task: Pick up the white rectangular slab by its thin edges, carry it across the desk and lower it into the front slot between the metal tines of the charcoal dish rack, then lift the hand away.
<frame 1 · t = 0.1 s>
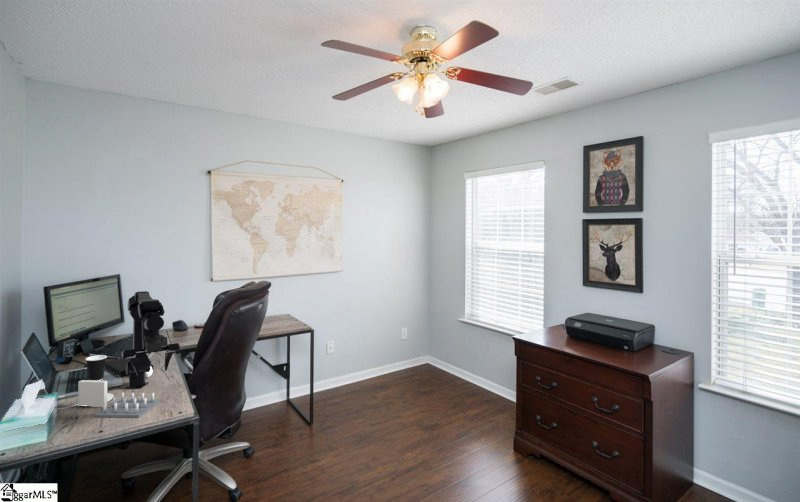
hand: (152, 373, 153), 15 cm above the table, tool pointing down, fingers open, 9 cm apart
dish rack: (129, 409, 155), on the table
external hard drive: (128, 369, 201), on the table
bust: (144, 376, 192), on the table
white rectangular slab: (92, 406, 157), on the table
dixie cup: (96, 381, 183), on the table
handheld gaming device: (143, 356, 223), on the table
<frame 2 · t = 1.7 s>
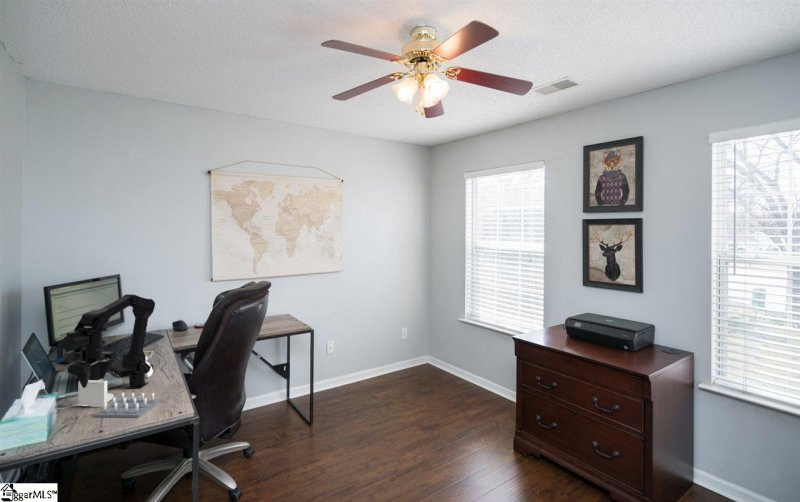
hand: (93, 383, 157), 9 cm above the table, tool pointing down, fingers open, 9 cm apart
nothing on the table moved.
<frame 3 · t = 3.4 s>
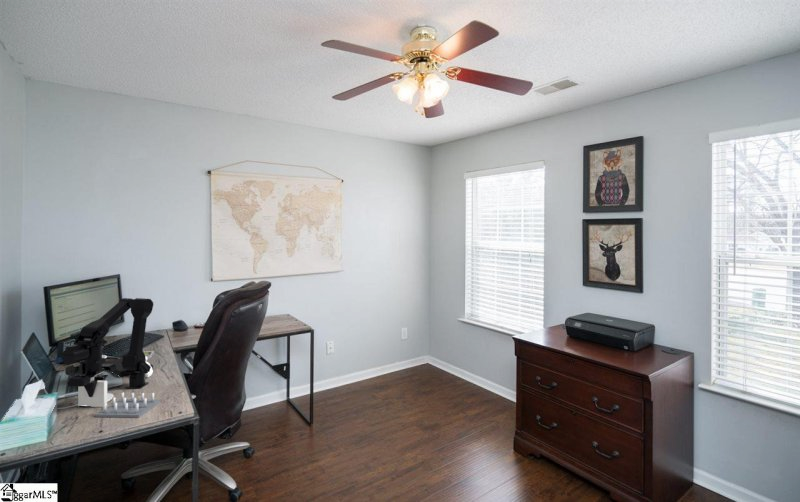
hand: (92, 395, 157), 4 cm above the table, tool pointing down, fingers closed on white rectangular slab, 2 cm apart
white rectangular slab: (92, 405, 157), on the table, touching gripper
everything else where it was.
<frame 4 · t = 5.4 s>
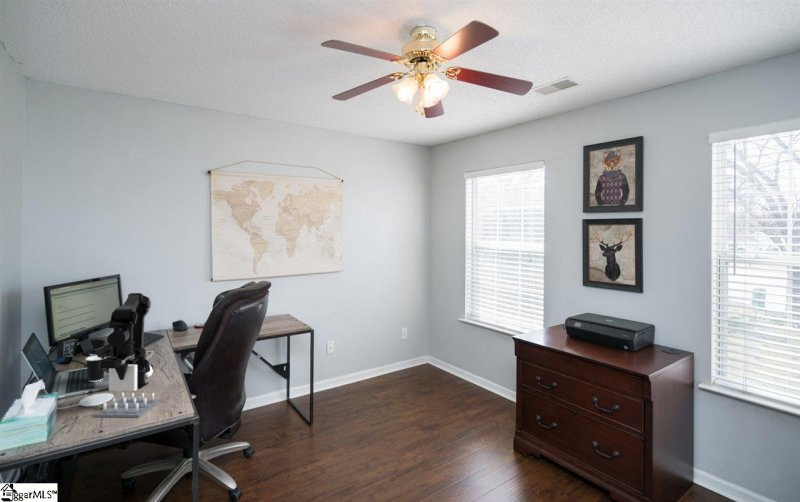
hand: (123, 379, 157), 11 cm above the table, tool pointing down, fingers closed on white rectangular slab
white rectangular slab: (123, 389, 157), point 7 cm above the table, touching gripper
everything else where it was.
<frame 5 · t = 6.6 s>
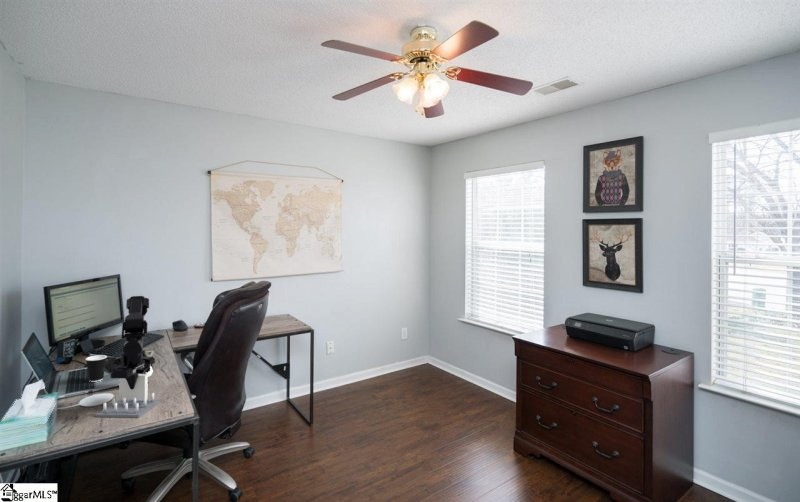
hand: (133, 388, 158), 7 cm above the table, tool pointing down, fingers closed on white rectangular slab, 2 cm apart
white rectangular slab: (133, 399, 158), point 3 cm above the table, touching gripper
everything else where it was.
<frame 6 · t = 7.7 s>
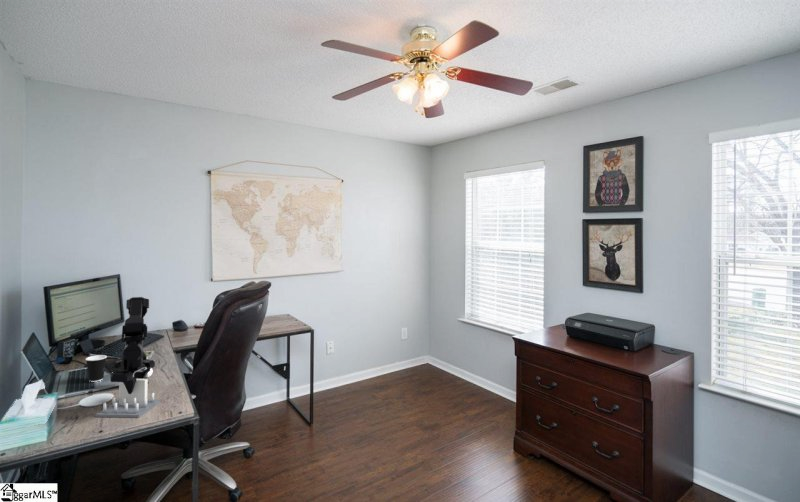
hand: (133, 391, 158), 6 cm above the table, tool pointing down, fingers open, 4 cm apart
white rectangular slab: (133, 404, 158), point 1 cm above the table, touching dish rack
everything else where it was.
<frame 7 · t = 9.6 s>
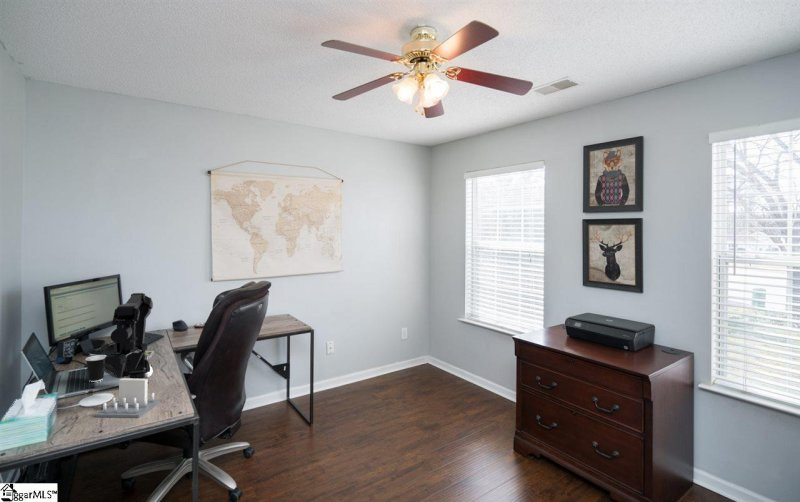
hand: (126, 373, 162), 12 cm above the table, tool pointing down, fingers open, 9 cm apart
nothing on the table moved.
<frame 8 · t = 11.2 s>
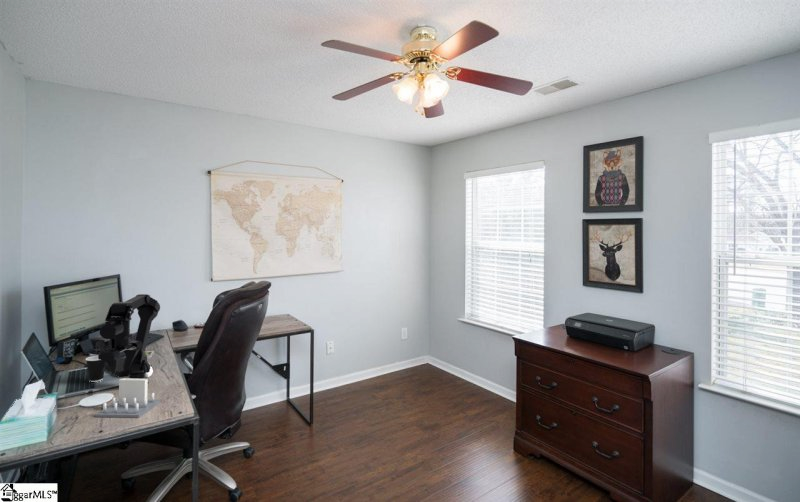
hand: (121, 370, 165), 12 cm above the table, tool pointing down, fingers open, 9 cm apart
nothing on the table moved.
at the end: white rectangular slab 0.2 cm from the target spot on the dish rack, point 1.0 cm above the dish rack's base; white rectangular slab tilted 0°; the gripper is holding nothing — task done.
